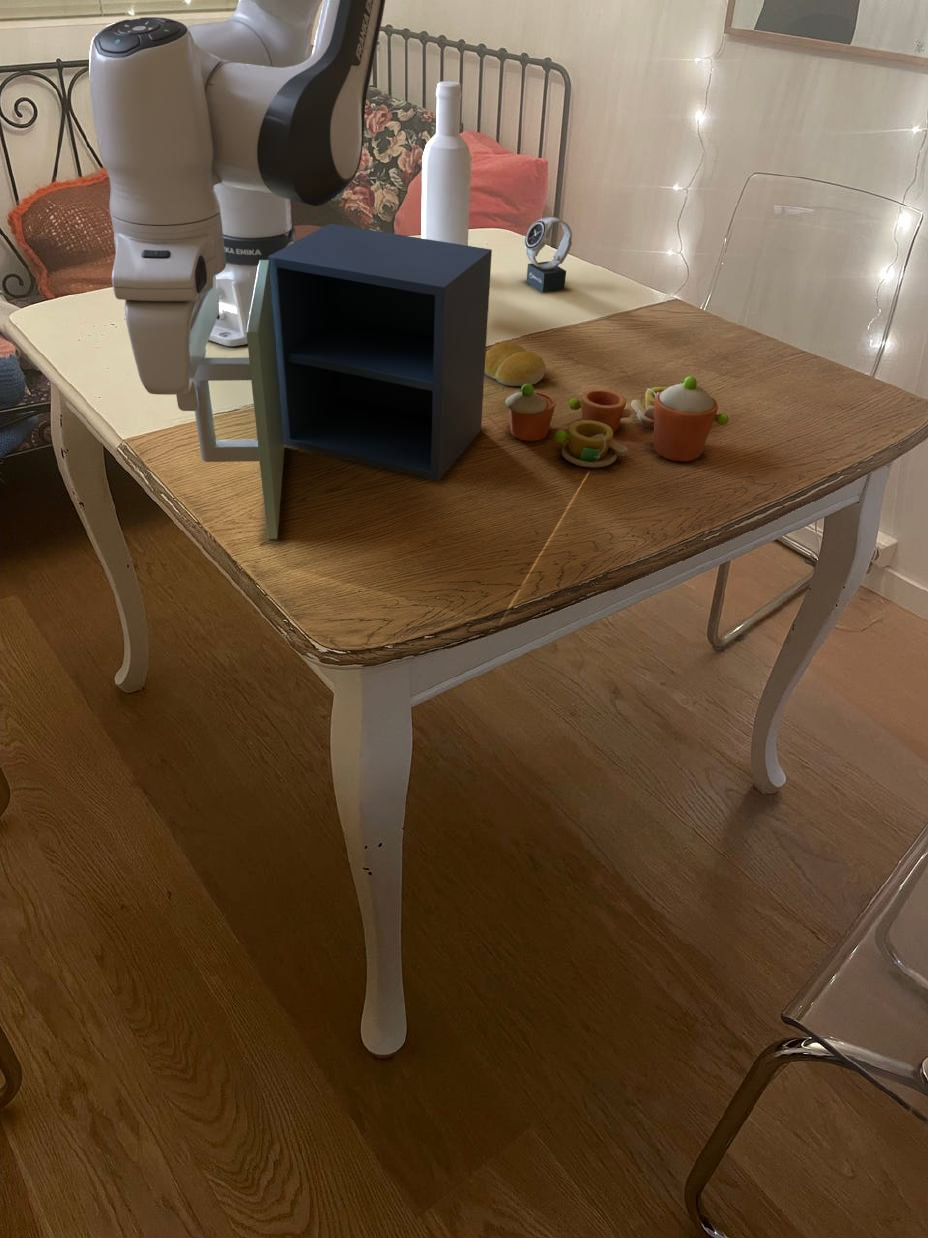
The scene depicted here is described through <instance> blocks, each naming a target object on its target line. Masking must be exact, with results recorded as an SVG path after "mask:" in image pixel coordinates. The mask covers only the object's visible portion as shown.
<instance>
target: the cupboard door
mask: <svg viewBox="0 0 928 1238" xmlns="http://www.w3.org/2000/svg"><path fill="white" fill-rule="evenodd" d="M247 342H248V344H247V351H248V352H247V353H248V357H205V358H201V361H200V364H199V366H198V369H197V372H196V374H195V381H196V386H197V387H198V388H199V397H200V403H199V406H198V409H197V410H196V411H194V416H195V424H196V430H197V438H198V444H199V451H200V458H201V461H203V462H204V463H205V462H206V463H229V462H230V463H231V462H233V463H234V462H235V463H238V462H242V463H243V462H259V468H260V479H261V489H262V499H263V507H264V519H265V528H266V529H265V530H266V537H267V540H277V539H278V537H279V535H278V534H279V525H280V513H281V511H280V510H281V498H282V485H283V471H284V459H285V448H286V447H285V446H286V445H284V434H283V422H282V410H281V398H280V386H279V374H278V362H277V349H276V337H275V325H274V313H273V301H272V289H271V277H270V265H269V260H260V261H259V266H258V271H257V277H256V283H255V288H254V294H253V299H252V305H251V310H250V316H249V321H248V327H247ZM209 381H213V382H214V381H219V382H221V381H222V382H223V381H251V390H252V400H253V410H254V420H255V430H256V439H255V438H253V439H252V438H251V439H247V438H246V439H217V436H216V430H215V429H216V428H215V422H214V413H213V406H212V398H211V392H210V391H211V390H210V383H209Z"/></svg>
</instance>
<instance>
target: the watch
mask: <svg viewBox="0 0 928 1238" xmlns="http://www.w3.org/2000/svg"><path fill="white" fill-rule="evenodd" d="M555 223H559V224H560V225H561V226H562V229H563V237H562V239H561V241H560V243H559V244H558V245H559V246H558V248H557V249H556V251H555V253H554V255H553V259H551V260H550V261H549V260H547V261H540V262H538V261H537V259H536V258H537V256H538V255H539V253H540V251H541V250H543V248H545V246H546V245H547V244H549V240H550V236H551V231H552V229H553V227H554V225H555ZM572 241H573V232H572V229H571V227H570V225H569V224H568V223H567V222H566V221H563V220H562V219H560V218H558V217H555V216H546V217H544V218H541V219H538V220H536V221H535V222H533V223H531V225H530V227H528V230H527V231H526V233H525V236H524V246H525V252H526V256H527V258H528V260H529V262H531V263H527V268H526V269H527V270H526V280H525V281H526V284H529V285H530V286H532V287H533V288H535V289H536V290H537V291H538V290H539V292H541V293H549V292H556V291H557V292H558V291H563V290H565V286H566V277H567V270H565V269H564V268H563V267H560V265H563V262H564V261H565V259H566V258H567V256H568V255H569V253H570V250H571V247H572V244H573V242H572Z"/></svg>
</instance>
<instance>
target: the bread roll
mask: <svg viewBox="0 0 928 1238" xmlns="http://www.w3.org/2000/svg"><path fill="white" fill-rule="evenodd" d="M545 363H546V362H545V361H544V359H543V357H542V356H541V355H540V354H538V353H536V352H532V351H528V349H526V348H525V347H524V346H522V345H520V344H518V343H516V342H511V341H510V342H509V341H504V342H500V343H497V344H495V345H493V346H492V347H491V348H489V349H488V350H486V356H485V372H484V375H486V376H488V377H489V378H491V379H493V380H496V381H497V382H498V383H499V384H502V385H505V386H508V387H522V386H523V385H524V384H531V385H532V386H533V385H535V384H537V383H539V382H540V381H541V380H543V378H544V376H545V374H546V364H545Z"/></svg>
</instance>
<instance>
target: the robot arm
mask: <svg viewBox="0 0 928 1238" xmlns="http://www.w3.org/2000/svg"><path fill="white" fill-rule="evenodd" d="M322 1H323V2H322ZM321 4H322V7H321ZM385 5H386V0H238V3H237V5H236V8H235V10H234V12H233V13H232V14H231V15H230V16H229V17H228V18H227V19H225V20H223V21H214V22H205V23H196V24H191V25H188V26H186V25H185V24H184V23H182V22H181V21H179V20H178V21H177V20H174V19H171V18H167V17H160V16H159V17H158V16H157V17H156V16H148V17H147V16H146V17H139V18H131V19H128V18H127V19H123V20H120V21H116V22H113V23H111V24H108V25H106V26H104V27H103V28H102V29H101V30H100V31H98V32H97V33H96V34H95V35H94V36H93V38H92V40H91V43H90V49H89V63H88V65H89V66H88V71H89V72H88V74H89V78H88V79H89V91H90V93H89V94H90V102H91V110H92V117H93V124H94V125H93V126H94V131H95V136H96V140H97V141H96V142H97V147H98V148H97V149H98V152H99V157H100V160H101V161H102V164H103V166H104V167H105V170H106V173H107V176H108V179H109V180H108V181H109V185H110V197H109V205H108V207H109V214H110V220H111V225H112V230H113V243H114V249H115V255H114V260H113V266H112V271H111V283H112V291H113V293H114V296H115V298H116V299H117V300H120V301H121V300H122V301H124V316H125V322H126V327H127V328H126V329H127V332H128V336H129V341H130V344H131V349H132V353H133V357H134V362H135V365H136V370H137V373H138V376H139V380H140V382H141V383H142V385H143V387H144V389H145V391H147V393H149V394H151V395H160V396H161V395H163V396H165V395H166V396H173V395H174V396H176V402H177V403H176V404H177V407H178V409H179V410H180V411H182V412H195V411H196V410H197V409H198V406H199V403H200V397H199V388H198V387H197V386H196V381H195V374H196V372H197V369H198V366H199V364H200V361H201V358H207V357H206V353H207V345H208V342H209V341H210V342H214V343H216V344H220V345H222V346H226V347H237V346H243V345H248V342H247V327H248V321H249V316H250V310H251V305H252V299H253V294H254V288H255V283H256V277H257V271H258V266H259V261H260V260H268V256H270V255H272V254H274V253H276V252H278V251H280V250H281V249H283V248H285V247H287V246H289V245H291V244H293V243H295V242H296V241H297V236H296V235H297V234H296V227H295V225H293V222H292V204H291V203H292V202H291V201H295V202H297V203H301V204H305V205H308V206H312V207H319V206H320V207H321V206H323V205H325V204H327V203H329V202H330V201H331V200H334V198H336V197H337V196H338V195H340V194H341V193H342V192H343V191H344V190H345V189H346V188H347V187H348V186H349V185H350V184H351V182H353V180H354V179H355V178H356V176H357V174H358V171H359V169H360V165H361V161H362V155H363V148H364V147H363V146H364V135H365V117H366V104H367V100H368V94H369V89H370V84H371V83H370V82H371V78H372V73H373V69H374V63H375V58H376V53H377V48H378V44H379V37H380V31H381V27H382V22H383V17H384V13H385ZM320 7H321V11H320V15H319V20H318V25H317V30H316V34H315V39H314V43H313V45H312V37H313V33H314V27H315V22H316V19H317V15H318V13H319V9H320Z"/></svg>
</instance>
